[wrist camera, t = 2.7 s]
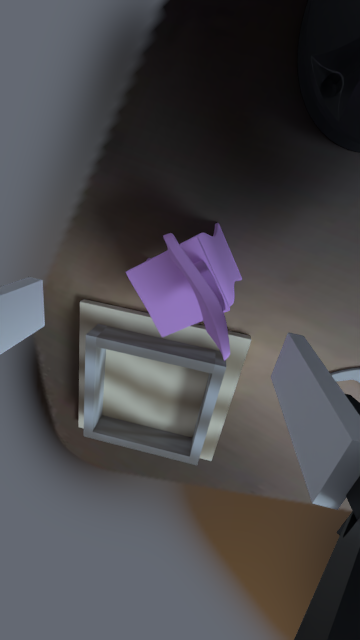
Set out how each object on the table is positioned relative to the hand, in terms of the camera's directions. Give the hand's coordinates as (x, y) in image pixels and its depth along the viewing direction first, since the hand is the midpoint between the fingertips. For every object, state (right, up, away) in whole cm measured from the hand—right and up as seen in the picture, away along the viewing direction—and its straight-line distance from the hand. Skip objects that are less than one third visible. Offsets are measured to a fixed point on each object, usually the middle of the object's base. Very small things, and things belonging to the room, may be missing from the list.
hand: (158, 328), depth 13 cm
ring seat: (-2, -8, +20) cm, 22 cm away
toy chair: (+2, +6, +14) cm, 15 cm away
